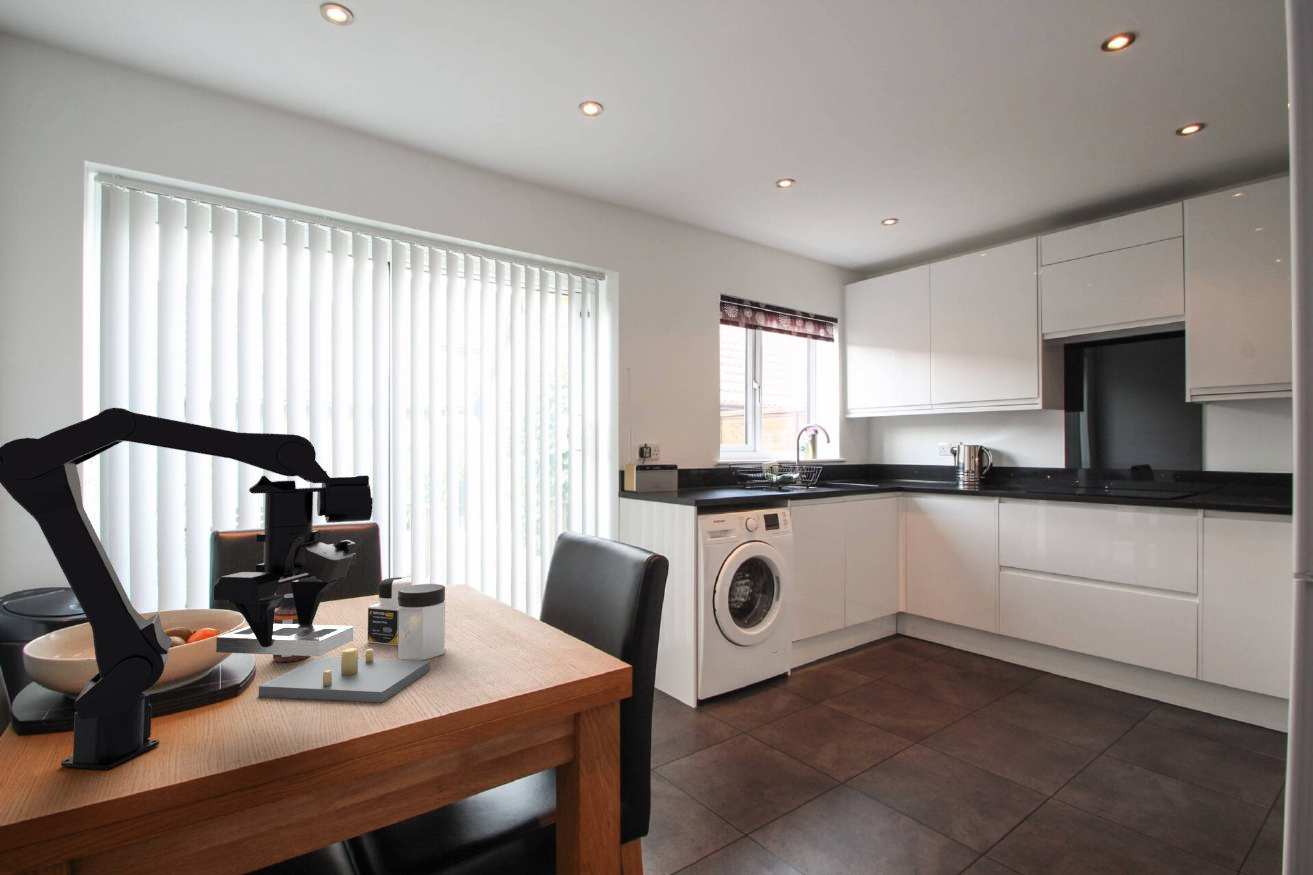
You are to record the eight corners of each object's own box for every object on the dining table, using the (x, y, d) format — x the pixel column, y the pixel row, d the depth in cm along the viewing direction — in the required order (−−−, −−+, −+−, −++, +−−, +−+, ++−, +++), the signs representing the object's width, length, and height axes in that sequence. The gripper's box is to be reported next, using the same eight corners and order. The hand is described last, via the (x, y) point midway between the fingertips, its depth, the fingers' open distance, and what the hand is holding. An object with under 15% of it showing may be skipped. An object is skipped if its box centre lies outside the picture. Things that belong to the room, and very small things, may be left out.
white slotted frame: (352, 640, 85) (353, 626, 85) (319, 656, 78) (319, 640, 78) (257, 637, 87) (257, 623, 87) (216, 652, 80) (216, 637, 80)
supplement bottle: (293, 664, 105) (294, 599, 105) (264, 662, 106) (265, 597, 107) (318, 653, 111) (320, 591, 111) (291, 651, 112) (292, 590, 112)
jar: (385, 660, 107) (386, 592, 107) (409, 646, 115) (409, 583, 116) (434, 661, 106) (434, 593, 107) (453, 647, 114) (454, 584, 115)
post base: (382, 702, 88) (382, 667, 88) (258, 696, 91) (259, 662, 91) (429, 669, 102) (430, 639, 102) (321, 665, 104) (322, 636, 105)
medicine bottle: (366, 642, 117) (367, 581, 118) (392, 633, 124) (393, 574, 125) (396, 646, 115) (397, 583, 116) (421, 635, 122) (422, 576, 123)
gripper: (293, 533, 73) (290, 663, 73) (381, 519, 92) (380, 622, 91) (211, 532, 75) (207, 659, 74) (315, 518, 93) (313, 620, 92)
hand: (286, 638), depth 83 cm, fingers closed on white slotted frame, 7 cm apart
